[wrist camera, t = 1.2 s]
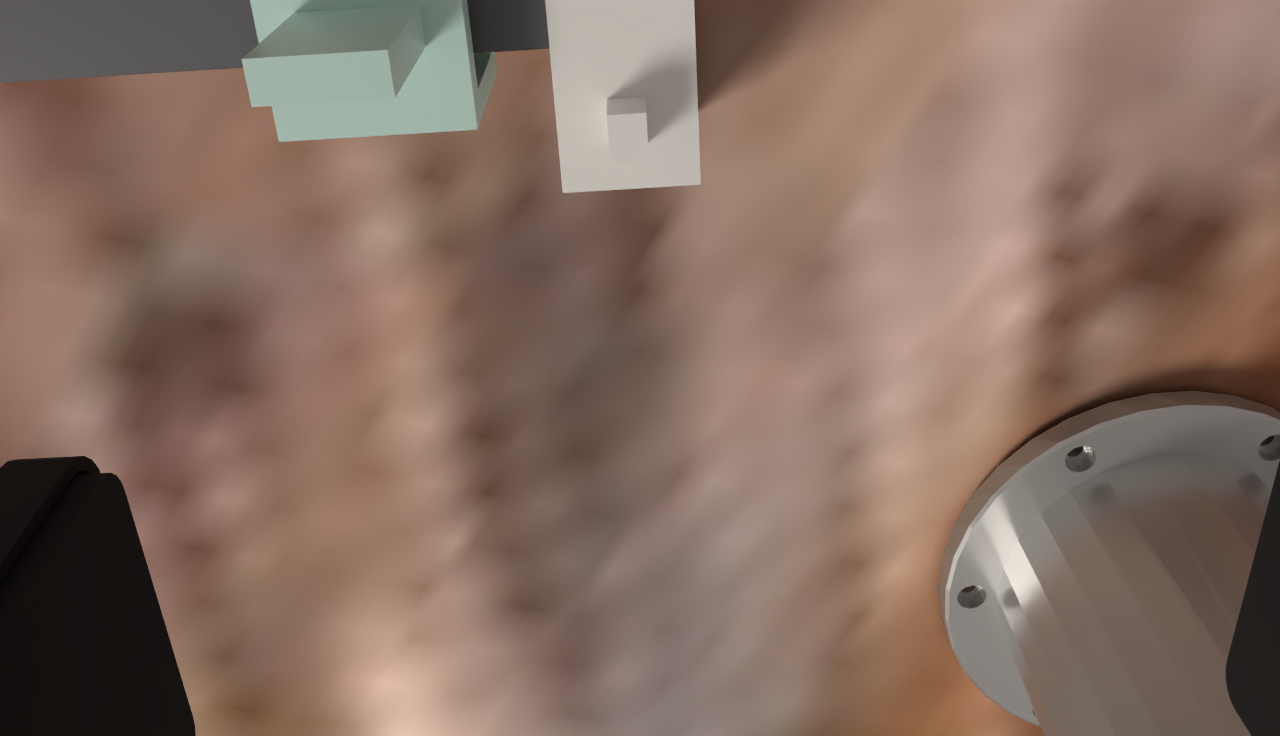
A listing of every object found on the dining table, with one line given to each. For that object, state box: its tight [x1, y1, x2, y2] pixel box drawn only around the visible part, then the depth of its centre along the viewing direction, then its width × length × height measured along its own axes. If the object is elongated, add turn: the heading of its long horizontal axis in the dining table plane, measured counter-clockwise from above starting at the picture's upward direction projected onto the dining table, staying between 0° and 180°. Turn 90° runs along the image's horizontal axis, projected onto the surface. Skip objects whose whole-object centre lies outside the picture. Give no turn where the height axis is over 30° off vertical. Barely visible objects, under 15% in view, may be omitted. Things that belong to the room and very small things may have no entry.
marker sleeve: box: [242, 0, 497, 142], centre depth 23 cm, size 4×4×8 cm
